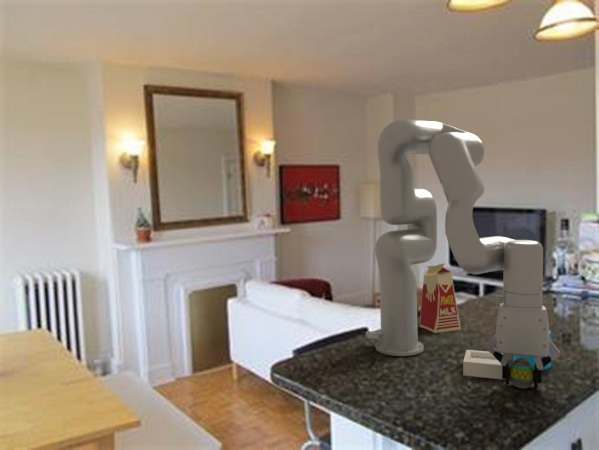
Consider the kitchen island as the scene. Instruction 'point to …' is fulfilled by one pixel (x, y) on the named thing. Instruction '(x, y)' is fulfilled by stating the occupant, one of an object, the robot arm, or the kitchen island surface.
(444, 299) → the milk carton
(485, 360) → the square tray
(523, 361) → the egg
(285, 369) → the kitchen island surface
